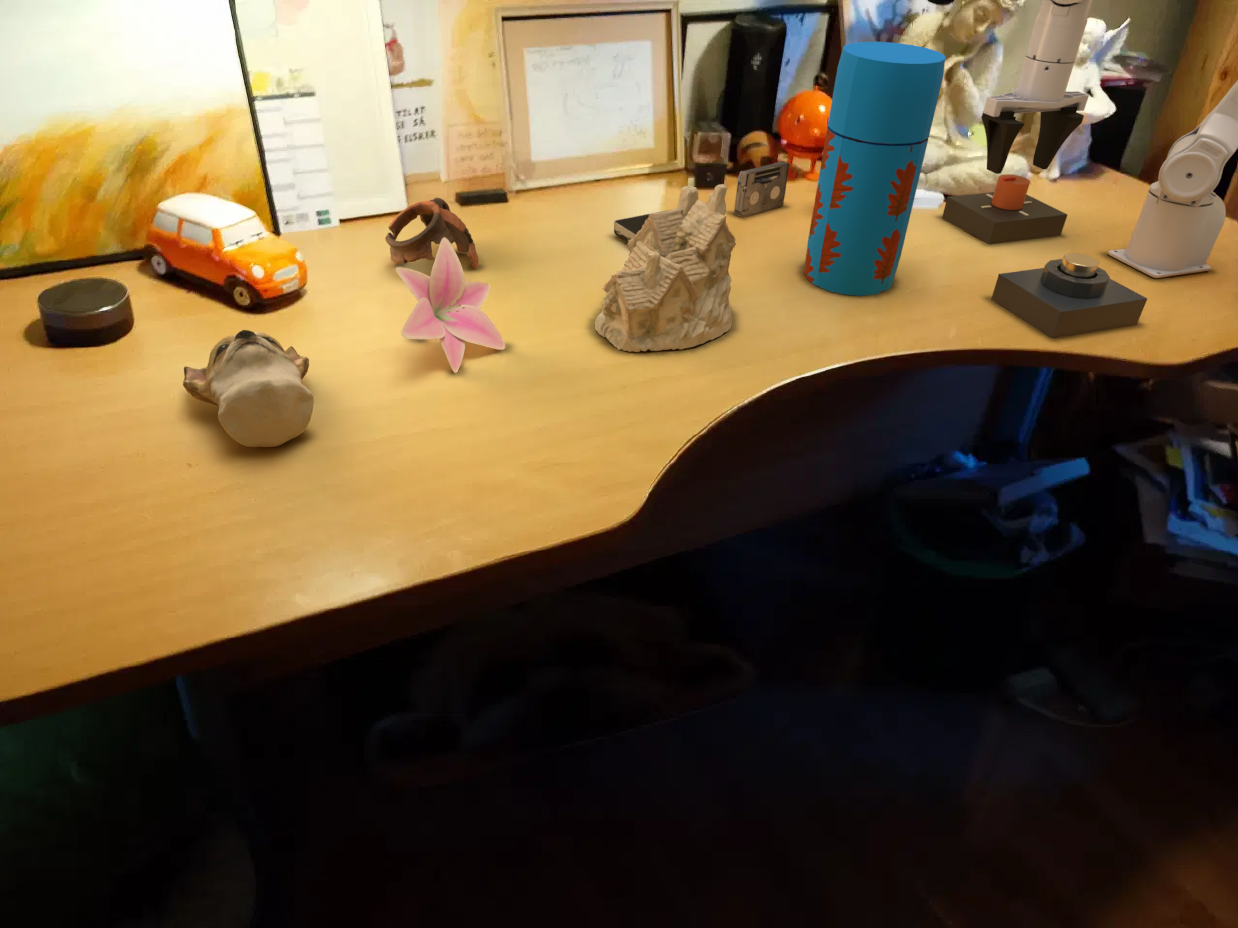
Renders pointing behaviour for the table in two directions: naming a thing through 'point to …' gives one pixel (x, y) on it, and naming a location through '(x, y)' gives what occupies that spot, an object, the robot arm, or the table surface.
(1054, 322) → the square base push button
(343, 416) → the table surface
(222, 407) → the ceramic sculpture
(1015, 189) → the dial
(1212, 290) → the table surface
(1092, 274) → the metal button cap
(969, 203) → the dark grey dial base
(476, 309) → the lily
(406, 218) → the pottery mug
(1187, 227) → the robot arm
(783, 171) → the mini dv tape
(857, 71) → the thermos
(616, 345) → the ceramic cottage
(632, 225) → the external hard drive
